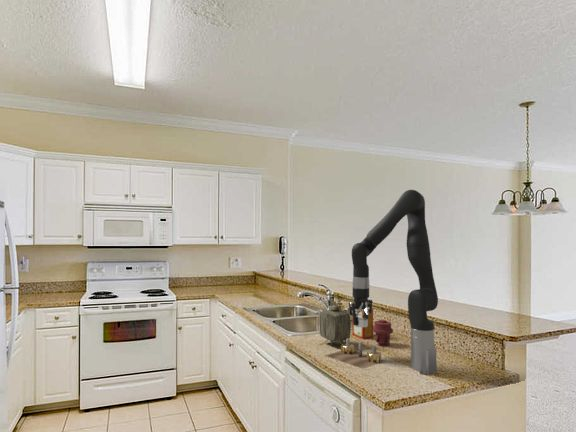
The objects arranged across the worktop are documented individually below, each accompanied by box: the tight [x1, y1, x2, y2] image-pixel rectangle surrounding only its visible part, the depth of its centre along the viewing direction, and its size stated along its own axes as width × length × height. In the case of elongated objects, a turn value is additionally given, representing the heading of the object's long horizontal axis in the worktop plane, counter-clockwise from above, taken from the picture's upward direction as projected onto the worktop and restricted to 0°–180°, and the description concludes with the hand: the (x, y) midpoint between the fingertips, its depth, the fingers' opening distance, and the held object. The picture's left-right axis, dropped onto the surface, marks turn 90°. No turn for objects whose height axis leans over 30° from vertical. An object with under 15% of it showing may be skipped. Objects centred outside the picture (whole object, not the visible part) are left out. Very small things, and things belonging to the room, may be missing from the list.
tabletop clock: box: [318, 295, 352, 347], centre depth 195 cm, size 14×9×25 cm, turn 33°
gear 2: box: [366, 350, 382, 364], centre depth 170 cm, size 6×6×3 cm
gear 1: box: [340, 340, 356, 354], centre depth 182 cm, size 6×6×5 cm
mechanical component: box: [373, 319, 394, 347], centre depth 198 cm, size 12×10×10 cm
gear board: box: [324, 338, 387, 369], centre depth 174 cm, size 22×16×7 cm
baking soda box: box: [351, 307, 374, 340], centre depth 215 cm, size 10×6×16 cm
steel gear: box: [354, 318, 368, 327], centre depth 177 cm, size 6×6×3 cm
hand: (360, 323), depth 177 cm, fingers closed on steel gear, 6 cm apart
